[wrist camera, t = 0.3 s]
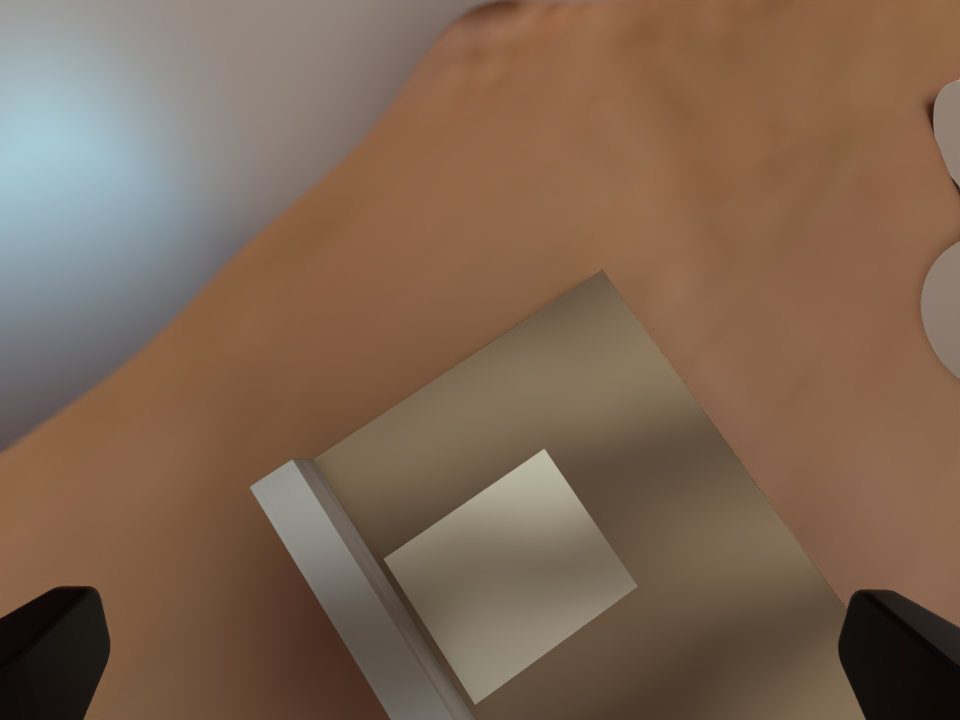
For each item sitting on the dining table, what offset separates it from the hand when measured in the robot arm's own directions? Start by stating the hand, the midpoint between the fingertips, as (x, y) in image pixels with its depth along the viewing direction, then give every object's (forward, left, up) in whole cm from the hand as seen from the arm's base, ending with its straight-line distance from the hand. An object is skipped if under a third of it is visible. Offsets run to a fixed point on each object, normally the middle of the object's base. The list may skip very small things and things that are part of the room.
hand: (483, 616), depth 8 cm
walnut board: (-9, -2, -15) cm, 17 cm away
